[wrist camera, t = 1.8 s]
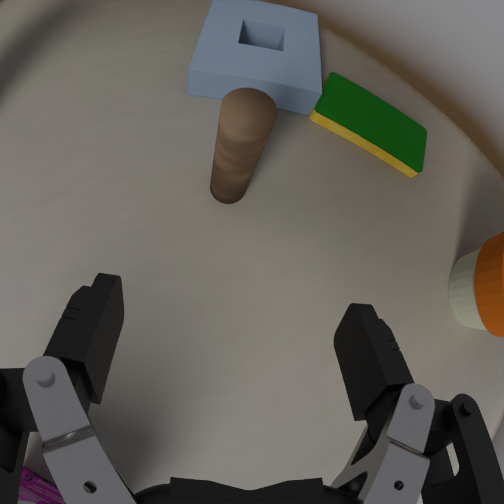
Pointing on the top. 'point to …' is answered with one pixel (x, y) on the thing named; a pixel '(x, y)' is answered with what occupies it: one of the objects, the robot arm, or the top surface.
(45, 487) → the candy bar box
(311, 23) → the hole block
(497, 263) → the reusable coffee cup
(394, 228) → the top surface
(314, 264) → the top surface
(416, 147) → the dish sponge
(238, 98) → the walnut peg
